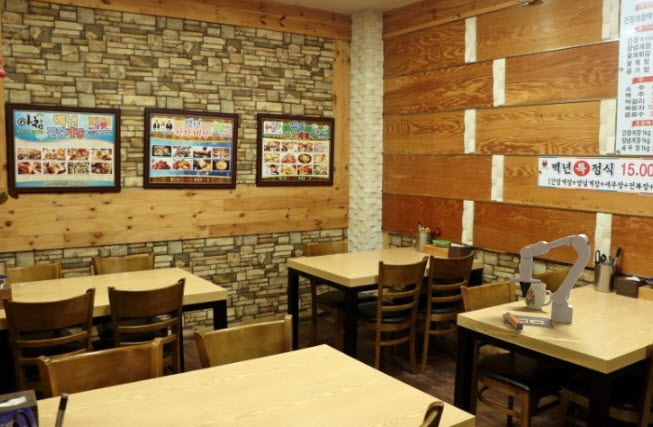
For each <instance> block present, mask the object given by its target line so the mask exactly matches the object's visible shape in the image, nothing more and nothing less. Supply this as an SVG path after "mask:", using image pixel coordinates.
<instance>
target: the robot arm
mask: <svg viewBox="0 0 653 427" xmlns="http://www.w3.org/2000/svg"><path fill="white" fill-rule="evenodd" d="M562 246H568V247H572V248H573V249H574V250H575V251H576V254H577V256H578V257H577V258H576V260H575V262H574V263H573V265H572V267H571V268H570V270H569V272H568V274H567V275H566V277H565V279H563V282H562V284H560V286H559V288H558V289H557V290H556V291H554V292H553V293H552V297H551V299H552V302H551V308H550V309H551V311H550V312H551V313H550V321H551V322H556V323H564V324H565V323H566V324H567V323H568V324H572V323H573V316H574V315H573V314H574V313H573V311H574V307H573V305H571V304H569V302H568V301H569V298H570V293H571V292H572V289H573V287H574V285H575V284H576V282H577V281H578V279H579V278H580V276H581V274H582V272H583V271H584V269H585V267H587V264H588V263H589V261H590V259H591V257H592V251H591V241H590V238H589V237H588V236H587V235H586V234H585V233H579V234H575V235H569V236H565V237H561V238H559V239H556V240H552V241H549V242H546V241H544V240H540V241H539V240H538V242H536V243H533V244H531V243H530V244H528V245H526V246H523V247H521V249H520V250H519V256H520V261H519V262H520V265H519V276H518V277H509V283H519V287H520V290H521V295H522V296H521V297H522V298H526V294H527V292H528V290H529V288H530V286H531V283H533V284H541V283H542V280H541V279H535V278H532V274H533V259H534V258H533V257H536V256H539V255H543V254H546V253H548V252H549V251H550V249H554V248H558V247H562Z"/></svg>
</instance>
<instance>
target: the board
mask: <svg viewBox="0 0 653 427" xmlns="http://www.w3.org/2000/svg"><path fill="white" fill-rule="evenodd" d="M507 314H512V313H511V312H508V311H507V312H505V313H502V319H503V324H504V325H506V324H507V325H512V324H511V323H510V322H509V321H508V320H507ZM513 315H514V316H515V317H516V318H518V319H527V320H528V324H523V327H524V326H525V327H536V328H546V329H555V327H554V325H553V323H552V320H551V318H550V317H542V316H541V317H540V316H531V315H529V316H528V315H521V314H520V315H519V314H513ZM530 320H538V321H543V322H544V326H542V325H532V324H530Z"/></svg>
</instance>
